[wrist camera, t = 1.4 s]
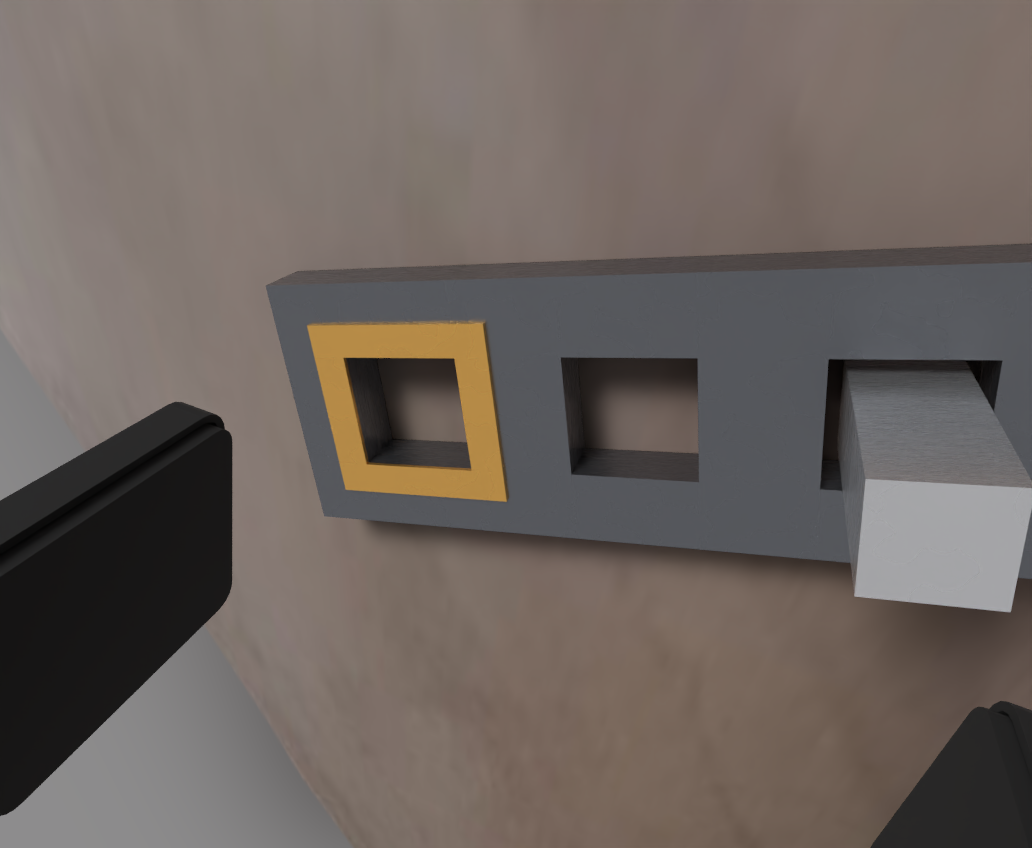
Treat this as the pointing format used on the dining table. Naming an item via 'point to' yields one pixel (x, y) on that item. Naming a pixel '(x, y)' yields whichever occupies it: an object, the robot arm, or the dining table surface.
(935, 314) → the rail
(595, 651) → the dining table surface
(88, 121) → the dining table surface
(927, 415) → the steel peg
